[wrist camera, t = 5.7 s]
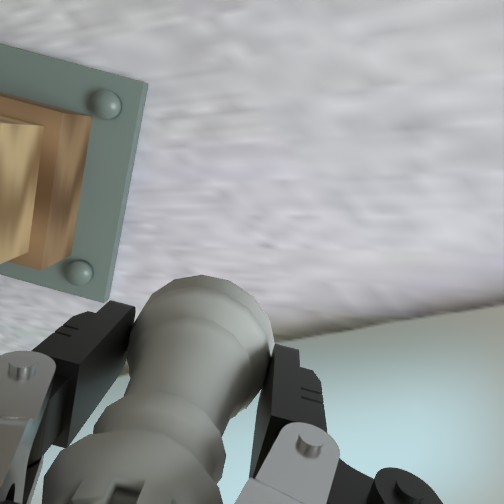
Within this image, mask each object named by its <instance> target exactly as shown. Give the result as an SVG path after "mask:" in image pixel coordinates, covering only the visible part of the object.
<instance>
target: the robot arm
mask: <svg viewBox="0 0 504 504" xmlns="http://www.w3.org/2000/svg"><path fill="white" fill-rule="evenodd" d="M134 318H135V307H134V306H131V305H127V304H123V303H119V302H115V301H109V302H108V303H107V304H105V305H104V306H103V307H102V308H101V309H100V310H99V311H98V312H97V313H93V312H89V311H87V312H84V313H81V314H78V315H76V316H73V317H72V318H70V319H69V320H68V321H67V322H66V323H64V324H63V326H61V327H60V328H58V329H57V330H56V331H55V333H52V334H51V335H50V336H49V337H48V338H46V339H45V340H44V341H43V342H42V343H40V344H39V345H38V346H37V347H36V348H34V349H33V350H32V351H15V352H10V353H6V354H3V355H0V504H30V503H31V500H32V496H33V493H34V490H35V487H36V484H37V481H38V477H39V475H40V472H41V468H42V464H43V458H44V454H45V452H46V451H47V450H48V448H49V447H50V446H51V445H52V444H53V445H56V446H59V447H63V448H67V447H68V446H69V445H70V443H71V442H72V440H73V439H74V438H75V436H76V435H77V433H78V432H79V431H80V429H81V428H82V427H83V425H84V424H85V422H86V421H87V419H88V418H89V417H90V415H91V414H92V412H93V411H94V410H95V408H96V407H97V405H98V404H99V403H100V401H101V400H102V398H103V397H104V396H105V394H106V393H107V391H108V390H109V389H110V387H111V386H112V384H113V383H114V382H115V380H116V379H117V377H118V376H119V375H120V373H121V371H122V369H123V367H124V365H125V362H126V359H127V353H128V345H129V338H130V331H131V327H132V325H133V324H134ZM339 457H340V450H339V447H338V445H337V443H336V442H335V440H334V439H333V438H332V437H331V436H330V435H329V434H328V433H327V427H326V418H325V411H324V404H323V395H322V387H321V381H320V380H319V379H318V377H317V376H316V374H315V373H314V372H313V371H312V370H309V369H306V368H302V367H300V360H299V350H298V349H294V348H290V347H286V346H282V345H279V344H275V345H274V348H273V351H272V354H271V360H270V363H269V367H268V371H267V375H266V378H265V382H264V386H263V387H262V390H261V393H260V397H259V402H258V407H257V415H256V423H255V431H254V440H253V449H252V457H251V465H250V473H249V480H248V481H247V482H246V484H245V486H244V488H243V490H242V491H241V493H240V495H239V497H238V498H237V500H236V502H235V504H443V503H442V502H441V500H440V499H439V498H438V496H437V495H436V493H435V492H434V491H433V490H432V489H431V487H430V486H429V485H428V484H426V483H425V482H424V481H423V480H421V479H420V478H418V477H416V476H415V475H413V474H412V473H409V472H407V471H404V470H402V469H398V468H383V469H381V470H380V471H378V472H377V474H376V476H375V478H374V479H373V478H371V477H369V476H367V475H365V474H363V473H361V472H359V471H357V470H355V469H353V468H352V467H350V466H349V465H347V464H346V463H345V462H343V461H342V460H341V459H340V458H339Z"/></svg>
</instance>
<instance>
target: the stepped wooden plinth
mask: <svg viewBox="0 0 504 504" xmlns="http://www.w3.org/2000/svg"><path fill="white" fill-rule="evenodd" d="M91 123H92V116H88V115H84V114H81V113H77V112H73V111H69V110H66V109H62V108H58V107H55V106H51V105H47V104H43V103H40V102H36V101H32V100H29V99H25V98H21V97H17V96H14V95H10V94H6V93H3V92H0V264H2V263H4V262H6V261H8V262H11V263H15V264H19V265H22V266H26V267H29V268H33V269H37V270H40V271H42V270H44V269H45V268H47V267H49V266H51V265H53V264H55V263H57V262H59V261H61V260H63V259H64V258H66V257H68V256H70V255H71V252H72V246H73V239H74V233H75V226H76V220H77V213H78V207H79V200H80V194H81V187H82V181H83V174H84V168H85V162H86V155H87V149H88V142H89V136H90V129H91Z"/></svg>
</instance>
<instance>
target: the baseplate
mask: <svg viewBox="0 0 504 504" xmlns="http://www.w3.org/2000/svg"><path fill="white" fill-rule="evenodd" d="M147 89H148V84H147V83H144V82H141V81H137V80H134V79H130V78H126V77H123V76H119V75H115V74H111V73H108V72H104V71H100V70H96V69H93V68H89V67H85V66H81V65H78V64H74V63H70V62H67V61H63V60H59V59H55V58H52V57H48V56H44V55H40V54H37V53H33V52H29V51H26V50H22V49H18V48H14V47H11V46H7V45H3V44H0V92H3V93H6V94H10V95H14V96H17V97H21V98H25V99H29V100H32V101H36V102H40V103H43V104H47V105H51V106H55V107H58V108H62V109H66V110H69V111H73V112H77V113H81V114H84V115H88V116H92V123H91V129H90V136H89V142H88V149H87V155H86V162H85V168H84V174H83V181H82V187H81V194H80V200H79V207H78V213H77V220H76V226H75V233H74V239H73V246H72V252H71V255H70V256H68V257H66V258H64V259H63V260H61V261H59V262H57V263H55V264H53V265H51V266H49V267H47V268H45V269H44V270H42V271H40V270H37V269H33V268H29V267H26V266H22V265H19V264H15V263H11V262H8V261H6V262H4V263H2V264H0V274H1V275H4V276H8V277H11V278H15V279H19V280H22V281H26V282H30V283H33V284H37V285H40V286H44V287H48V288H51V289H55V290H59V291H62V292H66V293H70V294H73V295H77V296H80V297H84V298H88V299H91V300H95V301H99V302H102V303H104V302H105V301H106V300H108V299H109V295H110V290H111V285H112V279H113V274H114V268H115V263H116V257H117V252H118V246H119V241H120V236H121V230H122V225H123V219H124V214H125V208H126V203H127V197H128V192H129V187H130V181H131V176H132V170H133V165H134V159H135V154H136V148H137V143H138V138H139V132H140V127H141V121H142V116H143V110H144V105H145V99H146V94H147Z"/></svg>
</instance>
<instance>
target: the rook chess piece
mask: <svg viewBox="0 0 504 504" xmlns="http://www.w3.org/2000/svg"><path fill="white" fill-rule="evenodd" d="M274 345H275V344H274V339H273V334H272V329H271V324H270V319H269V318H268V316H267V315H266V313H265V312H264V310H263V309H262V308H261V306H260V305H259V303H258V302H257V300H256V299H255V298H254V296H252V295H251V294H249V293H248V292H246V291H245V290H243V289H242V288H240V287H239V286H237V285H236V284H234V283H232V282H231V281H229V280H224V279H219V278H214V277H210V276H205V275H198V276H192V277H186V278H180V279H175V280H173V281H171V282H170V283H168V284H167V285H165V286H164V287H162V288H161V289H159V290H158V291H156V292H154V293H153V294H152V295H151V297H150V298H149V300H148V301H147V303H146V305H145V306H144V308H143V309H142V311H141V312H140V314H139V316H138V318H137V319H136V321H135V322H134V324H133V325H132V327H131V331H130V338H129V345H128V353H127V362H128V365H129V375H130V378H131V379H130V381H129V384H128V387H127V389H126V392H125V394H124V397H123V398H121V399H119V400H118V401H116V402H114V403H113V404H111V405H109V406H108V407H106V409H105V410H104V412H103V413H102V415H101V416H100V418H99V419H98V421H97V422H96V424H95V425H94V430H93V434H90V435H88V436H86V437H84V438H83V439H81V440H79V441H77V442H75V443H74V444H72V445H70V446H69V447H67V448H65V449H63V450H62V451H60V453H59V454H58V456H57V457H56V459H55V460H54V462H53V463H52V465H51V467H50V468H49V470H48V471H47V473H46V474H45V476H44V484H43V495H42V504H223V502H222V498H221V494H220V491H219V487H218V486H217V483H218V481H219V480H220V479H221V478H222V473H223V468H224V463H225V459H226V453H225V450H224V446H223V441H222V435H223V433H224V431H225V429H226V426H227V424H228V422H229V420H230V419H231V418H233V417H234V416H236V415H237V413H238V412H240V411H242V410H244V409H246V408H247V407H248V405H249V404H250V403H251V402H252V400H253V399H254V398H255V396H256V395H257V394H258V393H259V391H260V390H261V389H262V387H263V386H264V382H265V378H266V375H267V371H268V367H269V363H270V360H271V354H272V351H273V348H274Z"/></svg>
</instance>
